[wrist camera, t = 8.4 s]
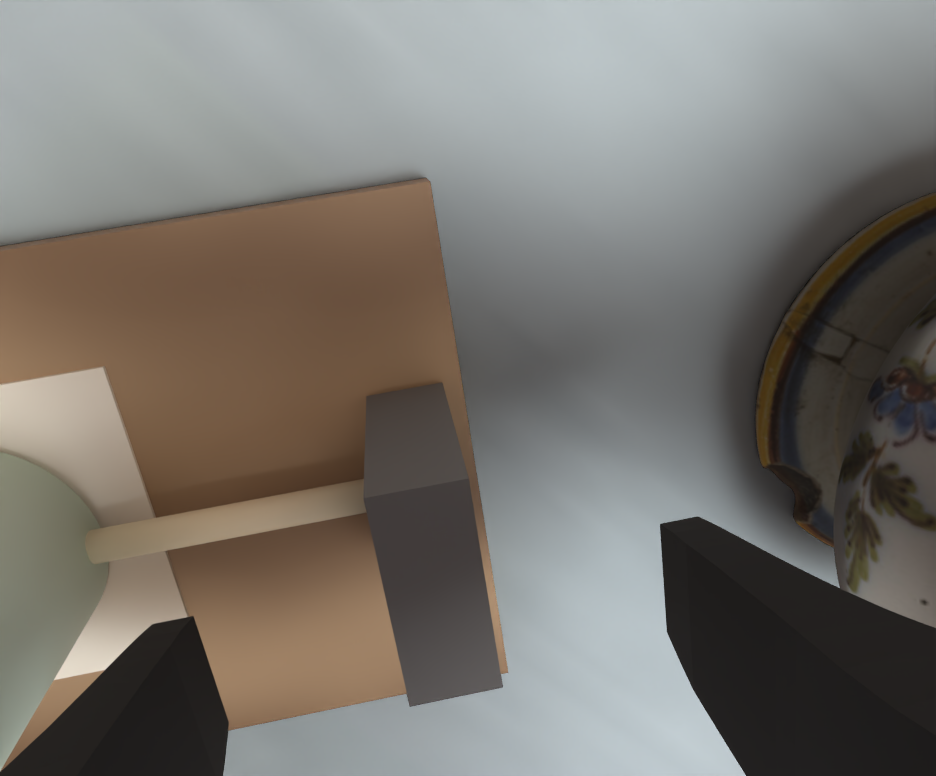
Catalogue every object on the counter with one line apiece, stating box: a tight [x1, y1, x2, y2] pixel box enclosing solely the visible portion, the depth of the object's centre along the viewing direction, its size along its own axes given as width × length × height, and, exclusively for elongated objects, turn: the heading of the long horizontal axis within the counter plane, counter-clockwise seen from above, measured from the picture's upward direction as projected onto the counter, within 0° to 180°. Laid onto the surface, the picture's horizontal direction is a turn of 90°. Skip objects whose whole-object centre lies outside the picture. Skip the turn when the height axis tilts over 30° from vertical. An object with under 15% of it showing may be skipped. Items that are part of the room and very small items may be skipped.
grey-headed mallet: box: [0, 382, 503, 771], centre depth 13 cm, size 5×13×5 cm, turn 98°
